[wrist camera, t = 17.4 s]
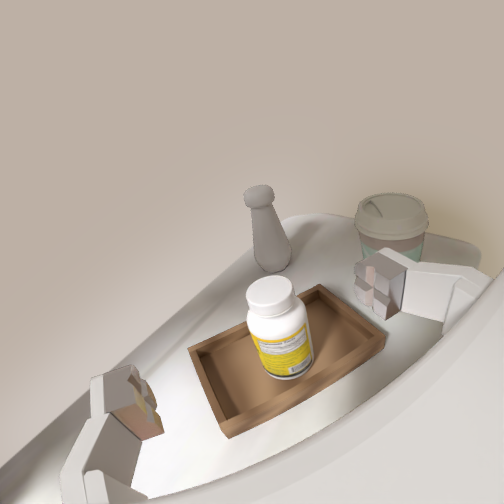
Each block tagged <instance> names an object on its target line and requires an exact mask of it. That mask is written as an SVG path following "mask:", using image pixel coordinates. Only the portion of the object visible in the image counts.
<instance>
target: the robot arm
mask: <svg viewBox="0 0 504 504" xmlns="http://www.w3.org/2000/svg"><path fill="white" fill-rule="evenodd" d="M354 274H355V275H356V276H357V278H356V281H355V283H354V291H355V294H356V296H357V298H358V299H359V301H360V302H361V303H363V304H364V305H366V306H372V309H373V312H374V313H376V314H377V315H378V316H380V317H381V318H382V319H384V320H385V321H386V320H387V319H389V318H390V317H392V316H393V315H395V314H396V313H398V312H399V311H400V310H401V311H402V312H406V313H409V314H413V315H417V316H421V317H425V318H428V319H432V320H436V321H440V322H444V324H443V327H442V331H441V333H442V335H443V337H442V338H441V339H440V340H439V341H438V342H437V343H436V344H435V345H434V346H433V347H432V348H431V349H430V350H429V351H428V352H426V353H425V354H424V355H423V356H422V357H421V358H420V359H419V360H417V361H416V362H415V363H414V364H413V365H412V366H410V367H409V368H408V369H407V370H406V371H404V372H403V373H402V374H401V375H400V376H398V377H397V378H396V379H395V380H393V381H392V382H391V383H390V384H388V385H387V386H386V387H384V388H383V389H382V390H380V391H379V392H378V393H376V394H375V395H374V396H372V397H371V398H369V399H368V400H367V401H365V402H364V403H362V404H361V405H359V406H358V407H357V408H355V409H354V410H352V411H351V412H349V413H348V414H346V415H345V416H343V417H341V418H340V419H338V420H337V421H335V422H334V423H332V424H330V425H329V426H327V427H325V428H324V429H322V430H320V431H319V432H317V433H315V434H313V435H312V436H310V437H308V438H306V439H304V440H303V441H301V442H299V443H297V444H295V445H293V446H291V447H290V448H288V449H286V450H284V451H282V452H280V453H278V454H276V455H273V456H271V457H269V458H267V459H265V460H263V461H261V462H258V463H256V464H254V465H252V466H249V467H247V468H245V469H242V470H240V471H237V472H235V473H232V474H230V475H227V476H225V477H222V478H219V479H216V480H214V481H211V482H208V483H205V484H202V485H199V486H196V487H193V488H189V489H186V490H183V491H179V492H176V493H172V494H168V495H164V496H160V497H156V498H152V499H148V497H147V496H146V495H144V494H142V493H140V492H138V491H136V490H134V489H132V488H130V487H131V483H132V479H133V475H134V471H135V467H136V464H137V460H138V456H139V452H140V449H141V445H142V442H141V441H143V440H146V439H149V438H152V437H155V436H158V435H160V434H163V433H164V429H163V425H162V422H161V418H160V416H159V415H158V414H157V413H156V411H155V410H156V408H157V403H156V399H155V397H154V394H153V392H152V390H151V388H150V386H149V385H148V383H147V382H146V381H145V380H143V379H140V376H139V371H138V370H137V369H136V367H135V366H134V365H128V366H125V367H122V368H119V369H116V370H113V371H110V372H107V373H105V374H102V375H99V376H96V377H92V378H91V380H90V408H91V418H90V419H87V421H86V423H85V424H84V426H83V428H82V430H81V432H80V434H79V436H78V438H77V440H76V442H75V444H74V446H73V448H72V450H71V452H70V454H69V456H68V458H67V460H66V462H65V464H64V466H63V468H62V470H61V472H60V474H59V476H60V488H61V497H62V504H504V268H503V269H502V271H501V272H500V273H499V275H498V276H497V277H496V279H495V280H494V279H493V278H490V277H489V276H487V275H486V274H484V273H482V272H480V271H478V270H477V269H475V268H473V267H471V266H461V265H451V264H441V263H431V262H421V261H419V262H418V263H417V262H415V261H413V260H411V259H409V258H407V257H405V256H403V255H402V254H400V253H398V252H396V251H394V250H392V249H390V248H385V247H384V248H383V249H381V250H379V251H378V252H376V253H375V254H373V255H371V256H369V257H367V258H365V259H363V260H362V261H360V262H358V263H356V264H355V267H354Z"/></svg>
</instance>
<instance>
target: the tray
mask: <svg viewBox="0 0 504 504" xmlns="http://www.w3.org/2000/svg"><path fill="white" fill-rule="evenodd" d="M297 297H298V298H300V299H301V300H302V302H303V303H304V305H305V308H306V312H307V317H308V323H309V328H310V334H311V339H312V345H313V351H314V360H313V363H312V365H311V367H310V369H309V370H308V371H307V372H306V373H304V374H303V375H301V376H300V377H297V378H295V379H290V380H281V379H276V378H274V377H272V376H270V375H269V374H268V373H267V372H266V371H265V369H264V367H263V365H262V362H261V360H260V357H259V354H258V352H257V349H256V347H255V344H254V341H253V339H252V336H251V334H250V331H249V328H248V325H247V321H245V322H243V323H241V324H239V325H237V326H235V327H233V328H231V329H228V330H226V331H224V332H222V333H220V334H218V335H216V336H213V337H211V338H209V339H207V340H205V341H202V342H200V343H198V344H196V345H193V346H191V347H189V348H188V351H189V354H190V356H191V359H192V362H193V364H194V367H195V369H196V372H197V375H198V377H199V380H200V382H201V385H202V387H203V389H204V392H205V394H206V397H207V399H208V401H209V404H210V406H211V408H212V411H213V413H214V415H215V417H216V420H217V422H218V424H219V426H220V428H221V431H222V432H223V433H224V434H225V435H226V437H227V438H228V439H230V438H232V437H234V436H236V435H239V434H241V433H243V432H245V431H247V430H250V429H252V428H254V427H256V426H258V425H260V424H262V423H264V422H266V421H268V420H270V419H272V418H274V417H276V416H278V415H280V414H281V413H283V412H285V411H287V410H289V409H291V408H293V407H294V406H296V405H298V404H300V403H301V402H303V401H305V400H307V399H308V398H310V397H312V396H313V395H315V394H317V393H318V392H320V391H322V390H323V389H325V388H327V387H328V386H330V385H331V384H333V383H335V382H336V381H338V380H339V379H341V378H342V377H344V376H345V375H347V374H348V373H350V372H351V371H353V370H354V369H356V368H357V367H359V366H360V365H361V364H363V363H364V362H366V361H367V360H369V359H370V358H371V357H373V356H374V355H375V354H377V353H378V352H379V351H381V350H382V349H383V348H384V345H385V335H384V334H383V333H382V332H380V331H379V330H378V329H377V328H375V327H374V326H373V325H372V324H370V323H369V322H368V321H367V320H365V319H364V318H363V317H362V316H360V315H359V314H358V313H356V312H355V311H354V310H353V309H351V308H350V307H349V306H348V305H346V304H345V303H344V302H343V301H341V300H340V299H339V298H337V297H336V296H335V295H334V294H332V293H331V292H330V291H328V290H327V289H326V288H325V287H323V286H322V285H321V284H318V285H316V286H314V287H312V288H311V289H309V290H307V291H305V292H303V293H301V294H299V295H297Z"/></svg>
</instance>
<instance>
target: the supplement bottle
mask: <svg viewBox="0 0 504 504" xmlns="http://www.w3.org/2000/svg"><path fill="white" fill-rule="evenodd" d="M246 299H247V302H248V305H249V308H250V309H249V311H248V313H247V325H248V328H249V331H250V334H251V336H252V339H253V341H254V344H255V347H256V349H257V352H258V354H259V357H260V360H261V362H262V365H263V367H264V369H265V371H266V372H267V373H268V374H269V375H270V376H272V377H274V378H276V379H281V380H290V379H295V378H297V377H300V376H301V375H303V374H304V373H306V372H307V371H308V370H309V369H310V367H311V365H312V363H313V360H314V351H313V345H312V339H311V334H310V328H309V323H308V317H307V312H306V308H305V305H304V303H303V302H302V300H301V299H300V298H298V297H297V296H295V293H294V289H293V285H292V282H291V281H290V280H289V279H288V278H286V277H284V276H279V275H272V276H266V277H263V278H260V279H258V280H256V281H255V282H254V283H252V284H251V285H250V286H249V288H248V289H247V291H246Z"/></svg>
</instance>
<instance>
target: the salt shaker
mask: <svg viewBox="0 0 504 504" xmlns="http://www.w3.org/2000/svg"><path fill="white" fill-rule="evenodd" d="M274 198H275V197H274V192H273V189H272V188H271V187H270V186H268V185H258V186H254V187H251V188H249V189H247V190H246V191H245V193H244V201H245V204H246V206H247V207H250V208H251V217H252V228H253V243H254V256H255V260H256V262H257V263H258V264H259V265H260V267H261V268H262V269H263V270H264V271H267V272H270V273H275V272H278V271H282V270H284V269H285V268H286V266H287V265H288V264H289V260H290V256H291V253H292V249H291V247H290V244H289V242H288V239H287V237H286V235H285V232H284V230H283V228H282V225H281V223H280V221H279V218H278V216H277V214H276V212H275V209H274V207H273V205H272V202H273V201H274Z"/></svg>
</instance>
